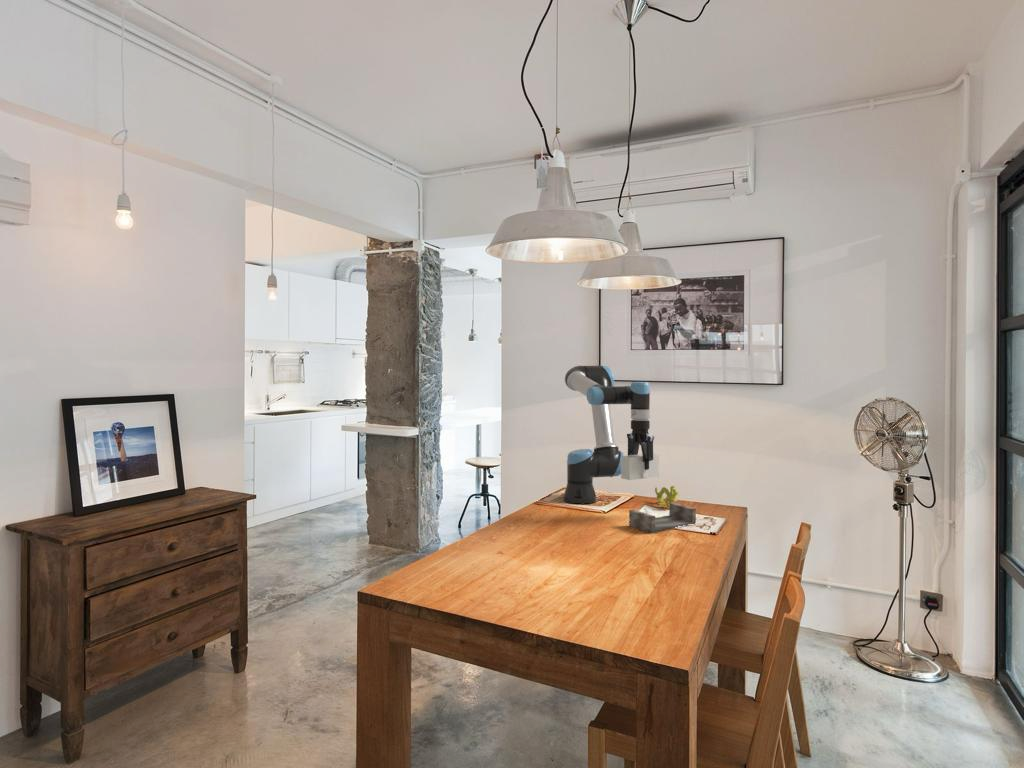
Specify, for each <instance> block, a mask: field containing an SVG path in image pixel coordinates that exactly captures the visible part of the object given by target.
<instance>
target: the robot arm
mask: <svg viewBox="0 0 1024 768" xmlns="http://www.w3.org/2000/svg"><path fill="white" fill-rule="evenodd" d="M564 383H565V385H566V386H567V387H568V389H569V390H572V391H574V392H579V393H581V394H582V395H583V396H585V397H586V400H587V403H588V404H589V405H591V412H592V422H593V430H594V437H595V446H594V448H593V449H589V448H580V449H575V450H571V451H569V453H568V454H567V460H566V463H567V464H566V466H567V468H566V469H567V470H566V474H567V480H566V481H567V482H566V487H565V491H564V493H563V499H562V500H563V501H564V502H565V503H568V502H570V503H569V504H573V503H581V504H580V505H583V504H582V503H590V504H593V503H592V502H594V503H596V502H597V495H596V490H595V488H594V485H593V479H594V478H608V477H610V478H612V477H619V476H621V456H625V455H624V452H623V451H622V450H620V449H619V446H618V445H617V444H616V443H615V437H614V429H613V422H612V414H611V413H612V412H611V407H610V405H630V419H631V420H630V429H631V430H632V431H631V433H627V434H626V438H627V456H628V455H639V450H640V449H639V448H641V454H642V455H643V462H642V478H643V479H647V478H646V477H648V469H649V461H651V460H653V454H654V440H655V436H654V435H650V433H649V430H650V427H651V426H650V425H651V424H650V402H651V401H650V399H651V398H650V396H651V394H650V393H651V390H650V383H649V382H647V381H635V382H634V381H633V382H631V384H630V385H623V386H621V385H620V386H615V376H614V373H613V371H612V369H611V368H610V367H609V366H607V365H598V364H597V365H575V366H573V367H571V368H570V369H569V370H567V371H566V373H565V376H564ZM595 501H596V502H595Z"/></svg>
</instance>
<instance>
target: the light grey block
mask: <svg viewBox="0 0 1024 768" xmlns="http://www.w3.org/2000/svg"><path fill="white" fill-rule="evenodd" d="M642 462H643V455H642V453H640V454H639V453H638V455H628V454H627V455H624V456H621V474H620V479H623V480H626V481H627V480H628V481H634V480H642V479H644V478H642ZM659 471H660V455H659V454H657V453H656V454H655V453H653V460H651V461H649V469H648V477H646V478H645V479H650V478H657V477H660V472H659Z"/></svg>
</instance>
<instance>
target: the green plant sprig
mask: <svg viewBox="0 0 1024 768" xmlns="http://www.w3.org/2000/svg"><path fill="white" fill-rule="evenodd" d="M675 488H676V485H670V486H669V489H670V491H669V489H668V488H667V487H665V486H663V487H662V488H661V489H660V491H659V492H658V488H657V487H655V488H654V492H655V494H656V500H658V501H656V504H657V505H659V506H661V505H666V506H665V507H664V509H666V510H669V509H670V503H673V502H674V503H677V501H678V498H677V496H679V491H677V489H675ZM664 494H665V495H666V497H665V498H664ZM664 499H665V500H664Z"/></svg>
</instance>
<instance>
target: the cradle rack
mask: <svg viewBox="0 0 1024 768" xmlns="http://www.w3.org/2000/svg"><path fill="white" fill-rule="evenodd" d="M669 505H670V509H668V510H669V515H664V516H660V517H656V516H655V515H653V514H648V513H646V512H643V511H639V510H636V509H630V510H629V512H628V514H629V515H628V516H629V517H628V519H629V521H628V526H629V527H631V528H634V529H637V530H640V531H643V532H645V533H648V534H649V533H650V534H655V533H660V532H664V531H670V530H674V529H673V528H675V527H678V526H683V525H688V524H695V523H697V517H696V516H697V508H694V507H690V506H687V505H683V504H680V503H677V502H672V503H670V502H669ZM695 525H696V524H695ZM675 529H676V528H675Z"/></svg>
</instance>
